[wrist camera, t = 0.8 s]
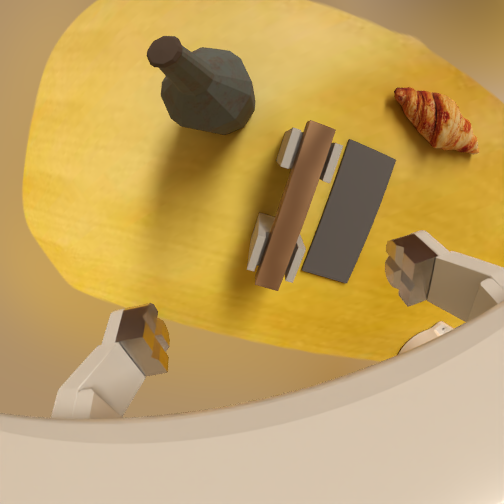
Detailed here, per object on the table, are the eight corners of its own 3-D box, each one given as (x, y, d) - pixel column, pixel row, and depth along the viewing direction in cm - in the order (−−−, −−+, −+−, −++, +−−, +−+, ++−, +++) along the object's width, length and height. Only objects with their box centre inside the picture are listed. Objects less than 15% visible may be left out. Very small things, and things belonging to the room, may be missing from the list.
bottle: (232, 145, 45) (183, 149, 17) (181, 118, 44) (73, 93, 16) (266, 93, 42) (270, 17, 14) (214, 65, 40) (149, -24, 12)
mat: (394, 159, 44) (396, 159, 44) (345, 282, 53) (346, 283, 52) (348, 139, 44) (349, 139, 43) (301, 268, 52) (302, 270, 52)
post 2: (323, 144, 44) (342, 145, 33) (313, 173, 46) (330, 183, 35) (285, 131, 44) (293, 127, 32) (276, 160, 46) (280, 166, 34)
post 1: (295, 223, 49) (305, 249, 38) (286, 250, 51) (292, 282, 40) (259, 212, 49) (258, 234, 37) (250, 239, 51) (246, 269, 39)
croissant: (466, 137, 45) (491, 123, 37) (467, 178, 43) (496, 166, 35) (385, 83, 42) (408, 59, 35) (382, 123, 41) (408, 100, 33)
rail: (330, 130, 34) (335, 129, 32) (277, 281, 42) (277, 291, 39) (306, 122, 34) (310, 120, 31) (255, 274, 42) (255, 284, 39)
